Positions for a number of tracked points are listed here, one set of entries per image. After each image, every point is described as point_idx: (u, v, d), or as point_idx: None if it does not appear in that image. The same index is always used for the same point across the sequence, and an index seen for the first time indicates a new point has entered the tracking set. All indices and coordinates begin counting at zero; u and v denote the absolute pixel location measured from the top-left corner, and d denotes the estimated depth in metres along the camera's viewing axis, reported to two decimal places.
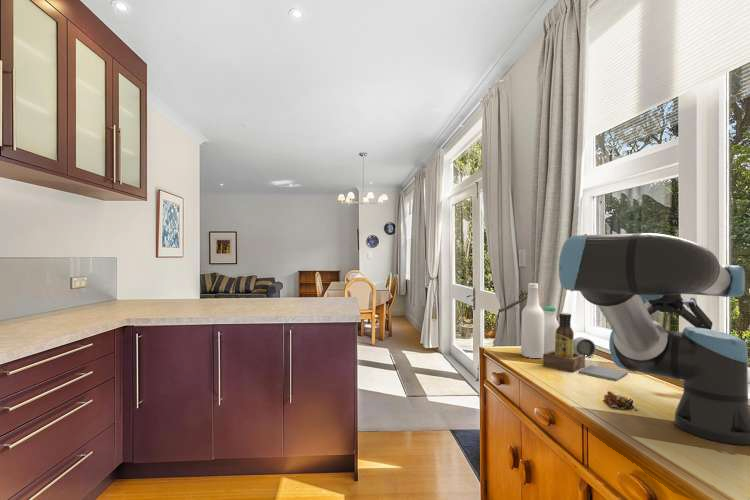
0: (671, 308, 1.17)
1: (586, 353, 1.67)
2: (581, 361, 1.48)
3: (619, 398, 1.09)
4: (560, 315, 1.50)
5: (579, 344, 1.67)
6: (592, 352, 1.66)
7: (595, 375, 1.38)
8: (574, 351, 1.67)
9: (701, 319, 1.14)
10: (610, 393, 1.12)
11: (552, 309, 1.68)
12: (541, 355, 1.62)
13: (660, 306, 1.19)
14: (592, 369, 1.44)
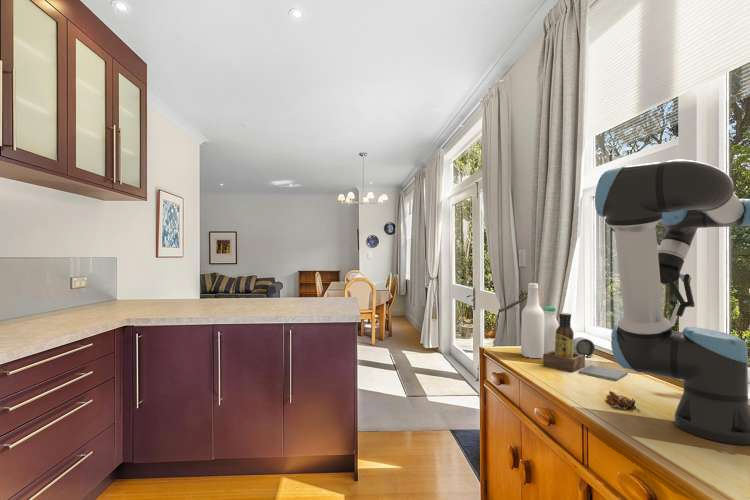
0: (667, 275, 1.26)
1: (585, 353, 1.67)
2: (581, 361, 1.48)
3: (621, 398, 1.09)
4: (560, 315, 1.50)
5: (578, 344, 1.68)
6: (591, 352, 1.66)
7: (595, 375, 1.38)
8: (574, 351, 1.67)
9: (688, 292, 1.21)
10: (612, 393, 1.12)
11: (552, 309, 1.68)
12: (541, 355, 1.62)
13: None
14: (592, 369, 1.44)
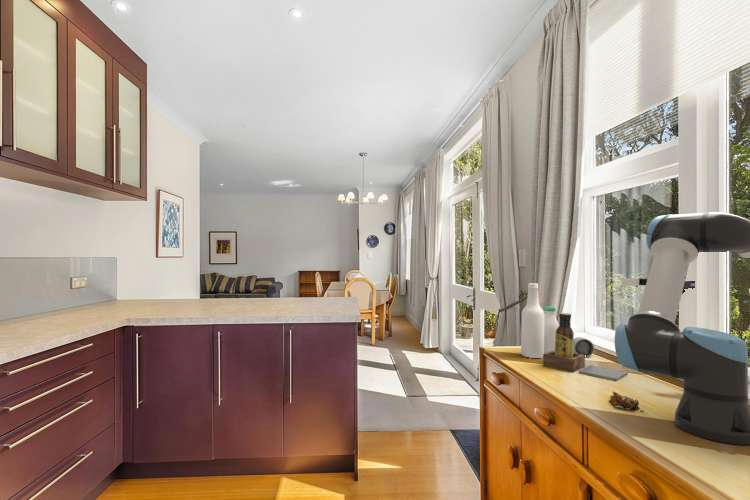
0: None
1: (584, 353, 1.67)
2: (581, 361, 1.48)
3: (624, 399, 1.09)
4: (560, 315, 1.50)
5: (578, 344, 1.68)
6: (590, 352, 1.66)
7: (595, 375, 1.38)
8: (573, 351, 1.67)
9: (685, 281, 1.36)
10: (615, 394, 1.12)
11: (552, 309, 1.68)
12: (541, 355, 1.62)
13: None
14: (592, 369, 1.44)
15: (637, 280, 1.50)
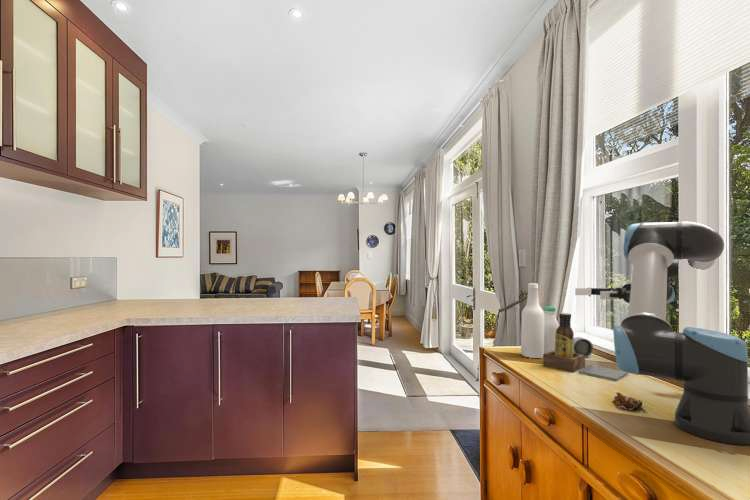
0: (624, 288, 1.54)
1: (584, 353, 1.67)
2: (581, 361, 1.48)
3: (627, 399, 1.09)
4: (560, 315, 1.50)
5: (577, 344, 1.68)
6: (590, 352, 1.66)
7: (595, 375, 1.38)
8: None
9: None
10: (619, 394, 1.12)
11: (552, 309, 1.68)
12: (541, 355, 1.62)
13: (620, 288, 1.56)
14: (592, 369, 1.44)
15: (589, 290, 1.60)
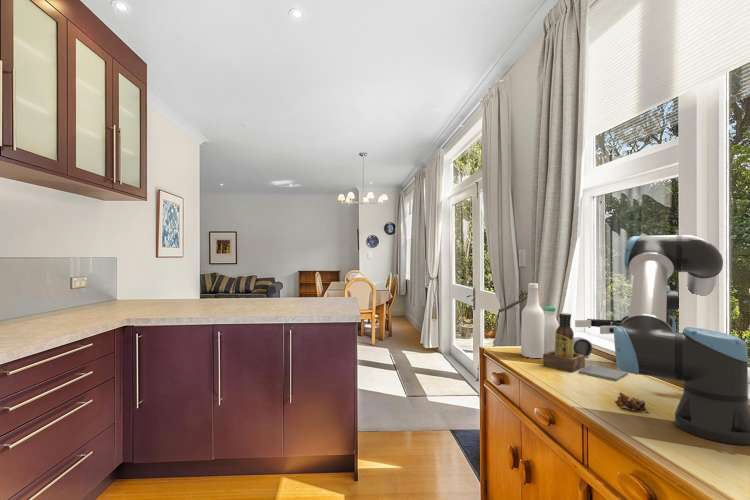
0: None
1: (583, 353, 1.67)
2: (581, 361, 1.48)
3: (630, 399, 1.08)
4: (560, 315, 1.50)
5: (576, 344, 1.68)
6: (589, 352, 1.66)
7: (595, 375, 1.38)
8: None
9: None
10: (622, 394, 1.11)
11: (552, 309, 1.68)
12: (541, 355, 1.62)
13: (619, 320, 1.56)
14: (592, 369, 1.44)
15: (589, 322, 1.60)
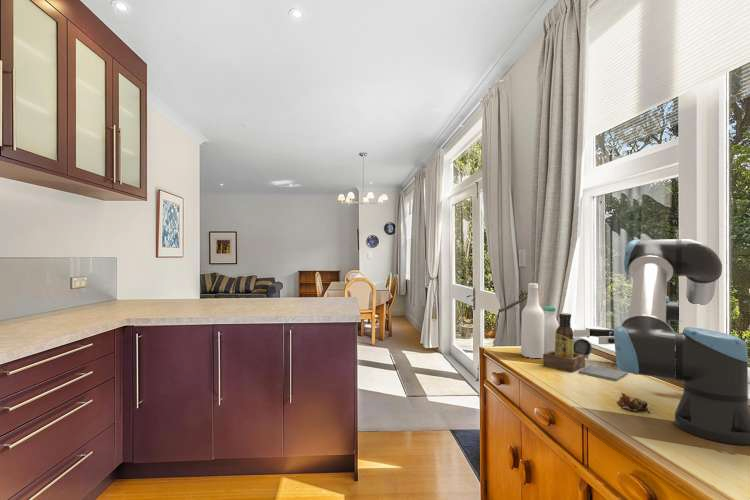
0: None
1: (582, 353, 1.67)
2: (581, 361, 1.48)
3: (632, 400, 1.08)
4: (560, 315, 1.50)
5: (575, 344, 1.68)
6: (588, 352, 1.66)
7: (595, 375, 1.38)
8: None
9: None
10: (624, 395, 1.11)
11: (552, 309, 1.68)
12: (541, 355, 1.62)
13: None
14: (592, 369, 1.44)
15: (588, 331, 1.60)
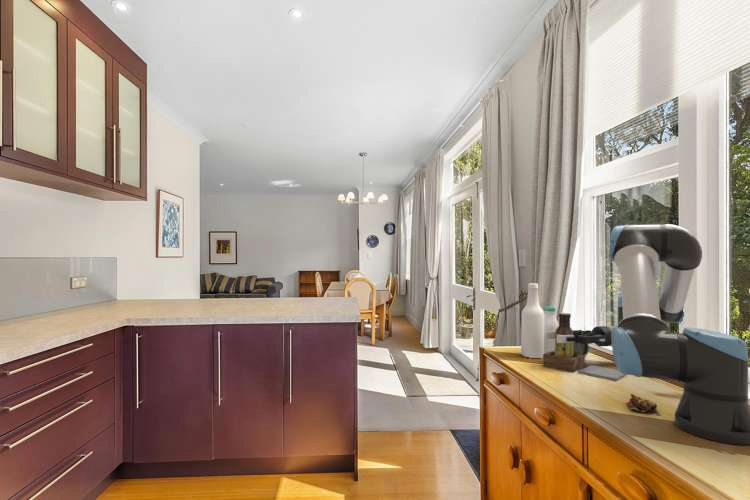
0: (593, 332, 1.51)
1: (580, 353, 1.67)
2: (581, 361, 1.48)
3: (641, 401, 1.07)
4: (559, 315, 1.50)
5: (573, 344, 1.68)
6: (586, 352, 1.66)
7: (595, 375, 1.38)
8: None
9: (589, 336, 1.46)
10: (633, 396, 1.10)
11: (552, 309, 1.68)
12: (541, 355, 1.62)
13: None
14: (592, 369, 1.44)
15: None
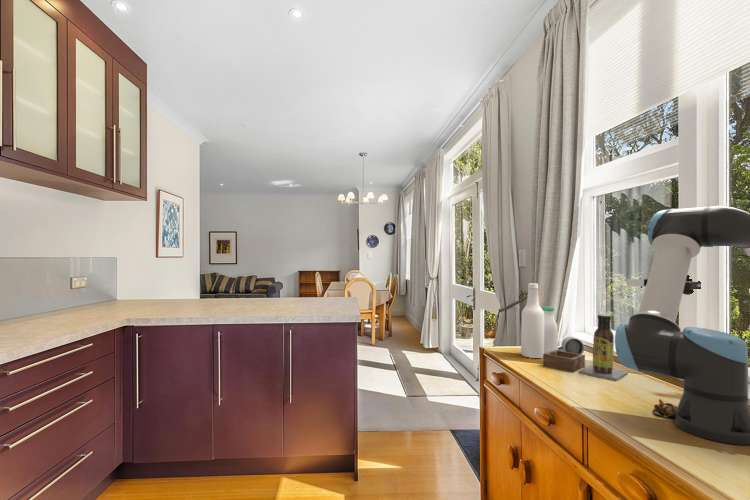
0: None
1: (575, 352, 1.67)
2: (581, 361, 1.48)
3: (665, 406, 1.04)
4: (599, 317, 1.41)
5: (568, 343, 1.68)
6: (581, 351, 1.67)
7: (595, 375, 1.38)
8: None
9: (691, 282, 1.34)
10: (660, 401, 1.07)
11: (551, 309, 1.68)
12: (541, 355, 1.62)
13: None
14: (592, 369, 1.44)
15: (642, 281, 1.47)
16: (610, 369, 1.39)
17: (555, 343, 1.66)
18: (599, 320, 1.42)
